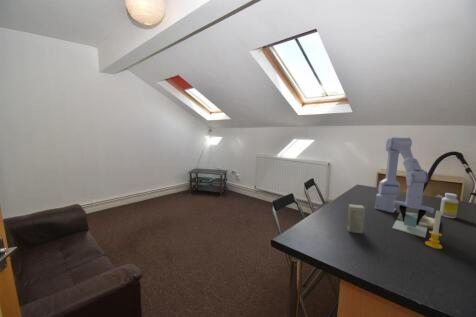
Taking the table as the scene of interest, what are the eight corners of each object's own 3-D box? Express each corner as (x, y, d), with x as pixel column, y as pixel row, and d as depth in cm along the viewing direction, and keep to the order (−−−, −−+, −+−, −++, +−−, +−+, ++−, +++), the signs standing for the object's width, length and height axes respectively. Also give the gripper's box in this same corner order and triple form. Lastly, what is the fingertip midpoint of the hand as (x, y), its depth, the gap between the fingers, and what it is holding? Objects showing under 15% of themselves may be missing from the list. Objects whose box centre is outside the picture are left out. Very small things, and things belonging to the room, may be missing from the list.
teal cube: (405, 221, 102) (406, 213, 102) (416, 224, 99) (417, 216, 99) (403, 224, 99) (404, 215, 99) (415, 227, 96) (416, 218, 96)
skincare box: (361, 229, 98) (363, 205, 96) (363, 234, 94) (366, 208, 92) (346, 227, 100) (348, 203, 98) (347, 231, 96) (349, 206, 94)
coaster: (392, 228, 100) (392, 227, 100) (396, 221, 108) (396, 220, 108) (425, 237, 91) (425, 236, 91) (427, 229, 100) (427, 227, 99)
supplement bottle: (459, 219, 112) (463, 196, 110) (445, 218, 113) (448, 195, 111) (449, 214, 118) (453, 192, 116) (436, 213, 119) (439, 191, 118)
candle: (424, 240, 89) (429, 206, 87) (441, 245, 86) (447, 209, 83) (425, 245, 85) (430, 209, 83) (443, 250, 82) (449, 213, 79)
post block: (396, 220, 109) (398, 211, 109) (401, 212, 119) (402, 205, 119) (438, 230, 98) (440, 221, 98) (439, 221, 108) (440, 213, 107)
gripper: (393, 193, 100) (390, 220, 101) (434, 201, 89) (430, 230, 91) (396, 191, 105) (393, 216, 106) (435, 197, 94) (431, 225, 96)
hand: (410, 222), depth 99 cm, fingers closed on teal cube, 4 cm apart
